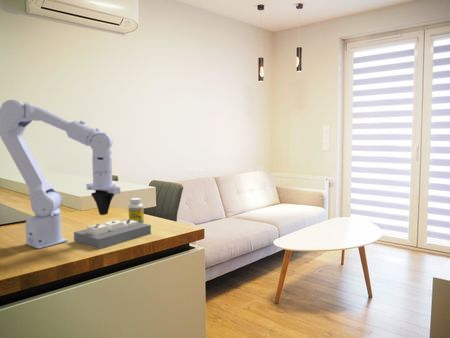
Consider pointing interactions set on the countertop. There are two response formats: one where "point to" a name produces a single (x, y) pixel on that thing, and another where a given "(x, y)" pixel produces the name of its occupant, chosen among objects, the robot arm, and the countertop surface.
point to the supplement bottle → (136, 210)
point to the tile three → (129, 223)
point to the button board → (112, 236)
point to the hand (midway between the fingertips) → (103, 214)
